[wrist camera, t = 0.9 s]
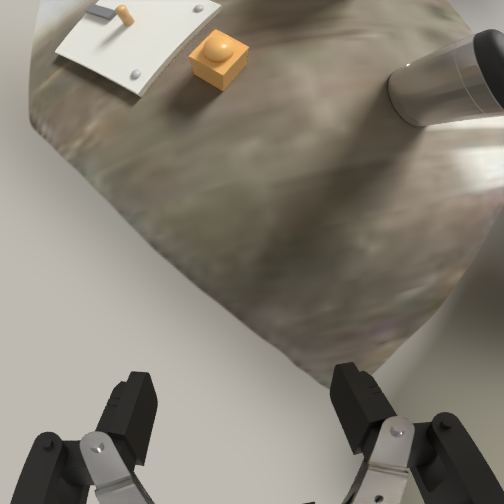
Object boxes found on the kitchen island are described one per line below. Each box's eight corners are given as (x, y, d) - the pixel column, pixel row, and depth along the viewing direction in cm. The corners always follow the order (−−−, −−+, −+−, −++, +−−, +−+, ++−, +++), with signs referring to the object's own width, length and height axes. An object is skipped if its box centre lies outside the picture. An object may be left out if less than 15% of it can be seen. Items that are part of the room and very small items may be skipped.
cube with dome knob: (216, 50, 26) (215, 24, 20) (245, 66, 27) (250, 43, 21) (194, 74, 27) (187, 52, 21) (223, 91, 28) (223, 71, 22)
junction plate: (129, -21, 20) (120, -39, 15) (221, 11, 24) (221, -12, 19) (59, 55, 23) (41, 43, 18) (141, 97, 27) (126, 83, 22)
